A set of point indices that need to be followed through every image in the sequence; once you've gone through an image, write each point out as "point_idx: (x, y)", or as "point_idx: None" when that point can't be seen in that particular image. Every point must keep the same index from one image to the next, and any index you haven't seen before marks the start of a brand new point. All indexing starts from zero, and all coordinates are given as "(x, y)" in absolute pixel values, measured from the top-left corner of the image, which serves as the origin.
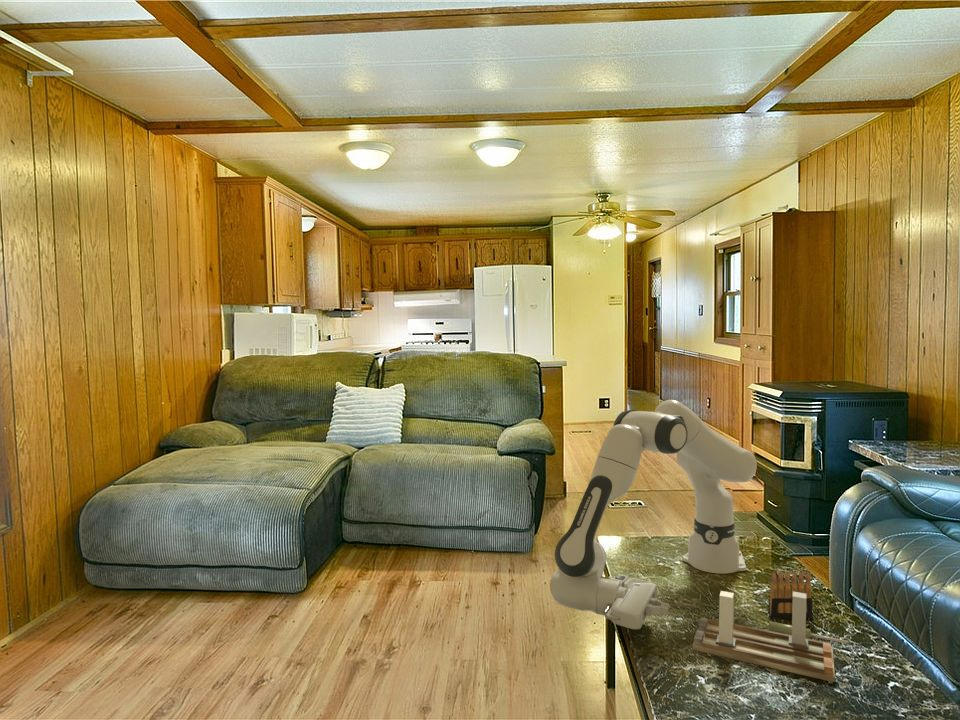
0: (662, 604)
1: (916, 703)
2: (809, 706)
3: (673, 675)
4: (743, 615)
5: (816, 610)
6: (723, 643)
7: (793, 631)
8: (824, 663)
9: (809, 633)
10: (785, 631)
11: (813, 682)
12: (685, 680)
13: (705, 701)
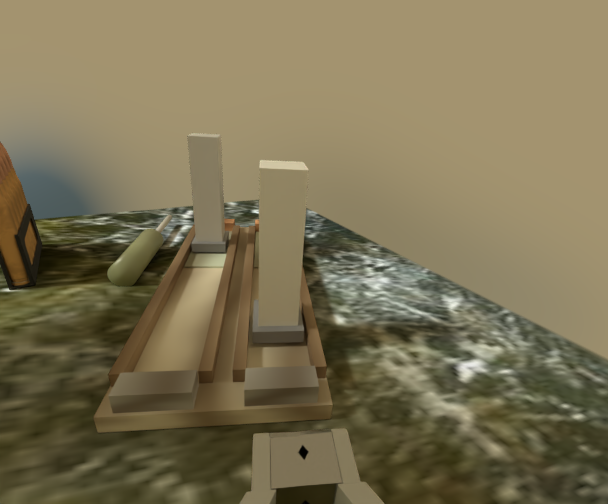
0: (294, 475)
1: None
2: (381, 251)
3: (544, 437)
4: (7, 329)
5: None
6: (301, 317)
7: (221, 217)
8: None
9: (159, 233)
10: (148, 256)
11: (309, 248)
12: (523, 399)
13: (542, 347)
